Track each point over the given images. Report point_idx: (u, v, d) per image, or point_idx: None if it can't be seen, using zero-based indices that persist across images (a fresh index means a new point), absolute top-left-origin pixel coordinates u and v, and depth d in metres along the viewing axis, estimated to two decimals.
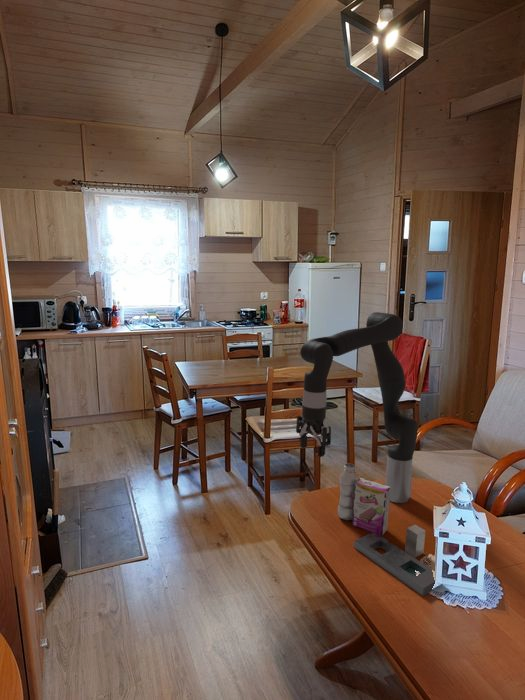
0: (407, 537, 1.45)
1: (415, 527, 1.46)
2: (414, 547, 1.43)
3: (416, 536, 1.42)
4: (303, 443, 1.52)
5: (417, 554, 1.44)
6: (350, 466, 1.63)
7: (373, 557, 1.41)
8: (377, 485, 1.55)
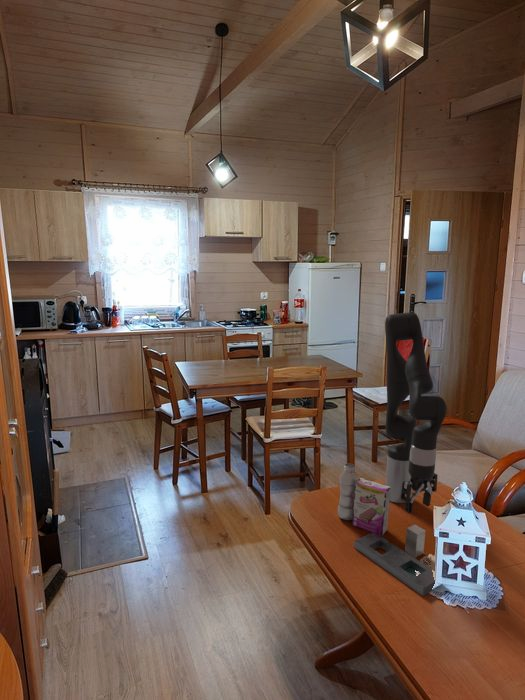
0: (407, 537, 1.45)
1: (415, 527, 1.46)
2: (414, 547, 1.43)
3: (416, 536, 1.42)
4: None
5: (417, 554, 1.44)
6: (350, 466, 1.63)
7: (373, 557, 1.41)
8: (377, 485, 1.55)
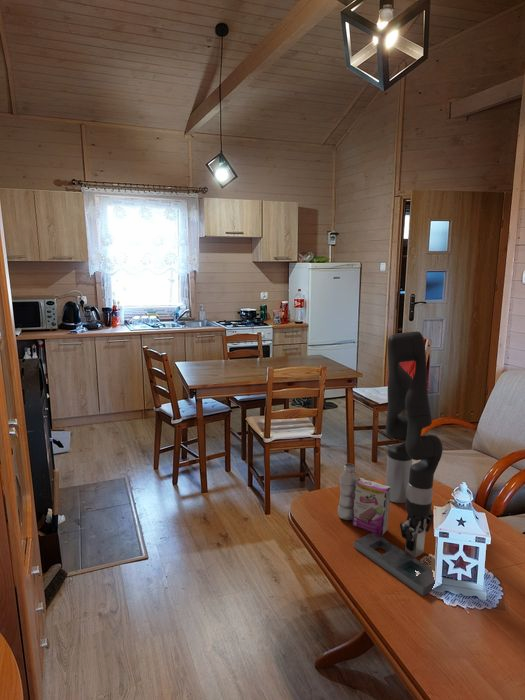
0: None
1: None
2: (414, 547, 1.43)
3: (416, 536, 1.42)
4: None
5: (417, 554, 1.44)
6: (350, 466, 1.63)
7: (373, 557, 1.41)
8: (377, 485, 1.55)
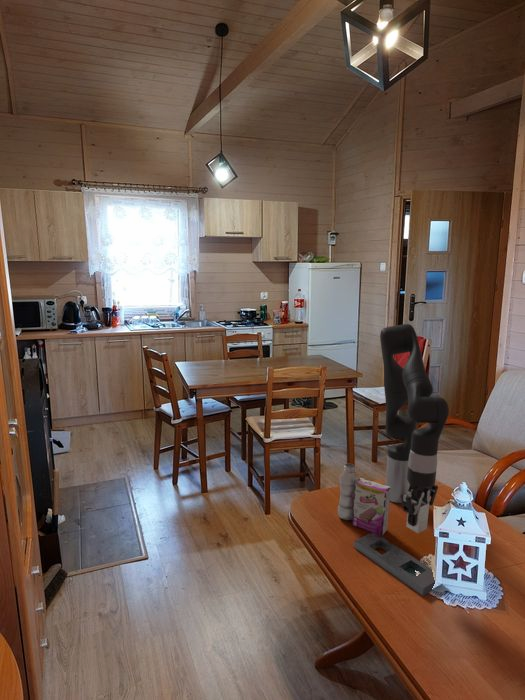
0: None
1: None
2: (417, 522, 1.29)
3: (419, 509, 1.28)
4: None
5: (420, 529, 1.29)
6: (350, 466, 1.63)
7: (373, 557, 1.41)
8: (377, 485, 1.55)
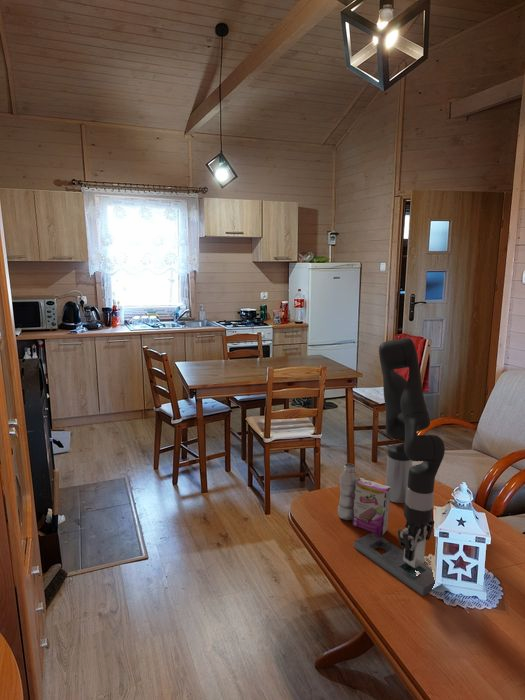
0: None
1: None
2: (413, 557, 1.31)
3: (415, 545, 1.30)
4: None
5: (417, 564, 1.32)
6: (350, 466, 1.63)
7: (373, 557, 1.41)
8: (377, 485, 1.55)
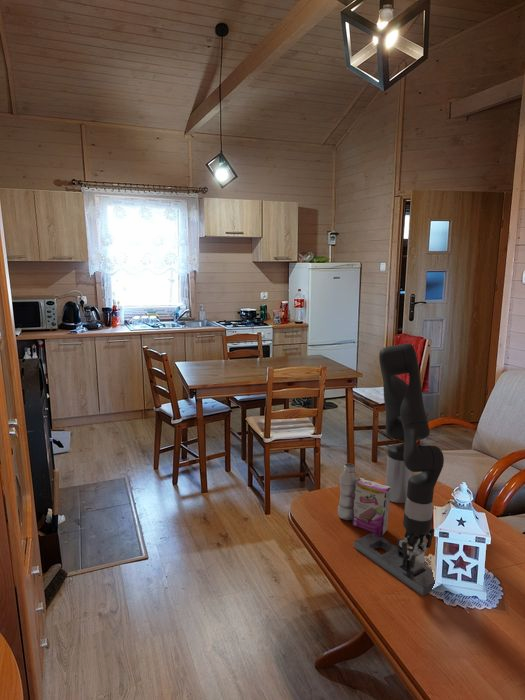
0: None
1: None
2: (412, 570, 1.32)
3: (414, 558, 1.31)
4: None
5: None
6: (350, 466, 1.63)
7: (373, 557, 1.41)
8: (377, 485, 1.55)
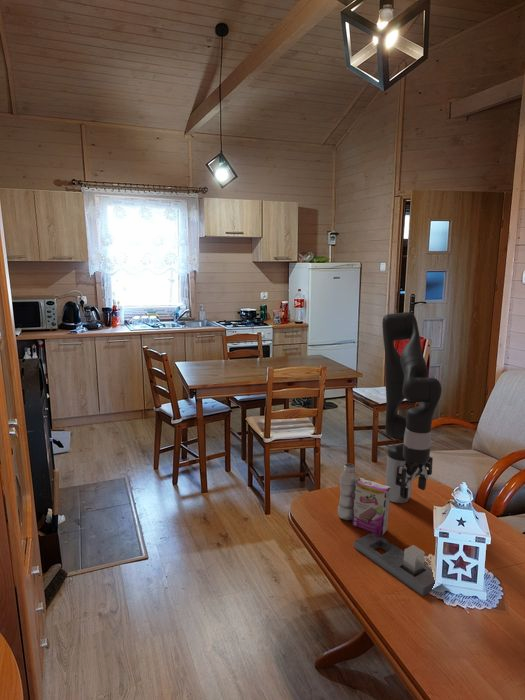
0: (404, 559, 1.34)
1: (413, 548, 1.34)
2: (412, 570, 1.32)
3: (414, 558, 1.31)
4: None
5: None
6: (350, 466, 1.63)
7: (373, 557, 1.41)
8: (377, 485, 1.55)
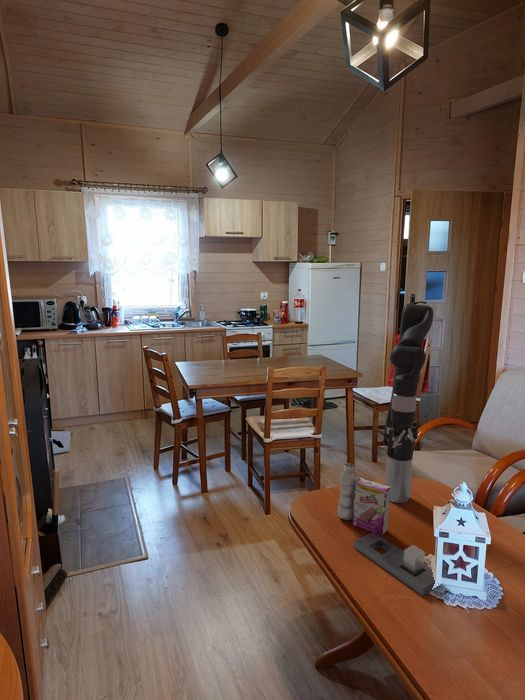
0: (404, 559, 1.34)
1: (413, 548, 1.34)
2: (412, 570, 1.32)
3: (414, 558, 1.31)
4: None
5: None
6: (350, 466, 1.63)
7: (373, 557, 1.41)
8: (377, 485, 1.55)
